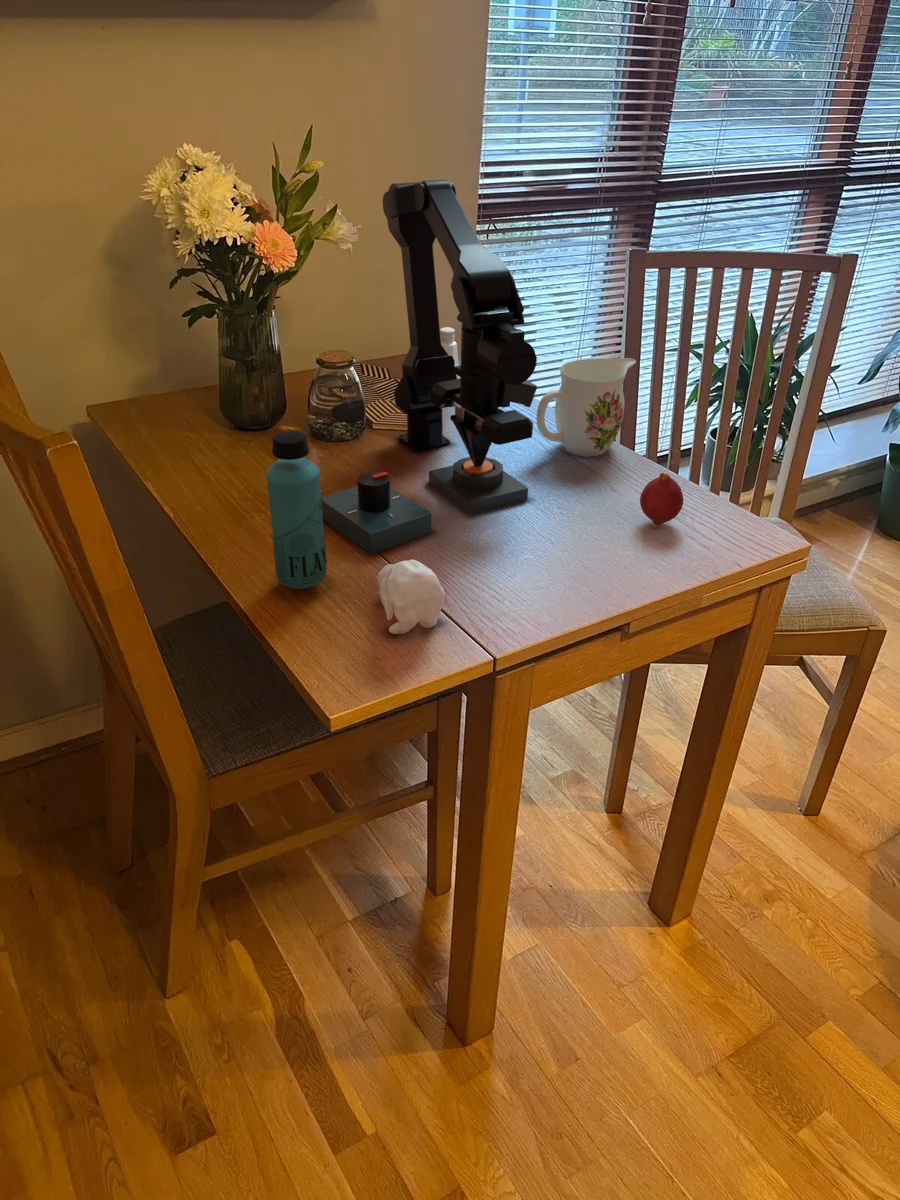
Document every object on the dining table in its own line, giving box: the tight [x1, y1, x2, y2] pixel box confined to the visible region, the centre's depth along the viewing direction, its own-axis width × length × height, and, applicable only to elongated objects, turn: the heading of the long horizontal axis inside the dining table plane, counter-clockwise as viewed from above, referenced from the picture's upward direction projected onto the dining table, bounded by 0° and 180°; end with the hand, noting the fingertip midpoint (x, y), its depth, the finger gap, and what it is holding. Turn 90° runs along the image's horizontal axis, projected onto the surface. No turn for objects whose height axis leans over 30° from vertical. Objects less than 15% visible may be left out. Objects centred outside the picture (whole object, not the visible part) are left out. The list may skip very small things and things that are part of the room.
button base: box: [428, 456, 529, 516], centre depth 136 cm, size 12×10×4 cm
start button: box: [463, 460, 493, 474], centre depth 136 cm, size 4×4×2 cm
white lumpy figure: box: [374, 559, 445, 635], centre depth 107 cm, size 6×8×12 cm
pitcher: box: [536, 357, 637, 457], centre depth 147 cm, size 11×18×14 cm, turn 119°
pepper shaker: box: [440, 326, 460, 379], centre depth 171 cm, size 5×5×11 cm
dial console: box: [321, 485, 433, 555], centre depth 128 cm, size 13×10×3 cm
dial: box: [356, 471, 391, 512], centre depth 126 cm, size 4×4×4 cm
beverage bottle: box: [265, 430, 329, 589], centre depth 109 cm, size 6×7×20 cm
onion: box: [639, 471, 684, 526], centre depth 127 cm, size 6×6×8 cm
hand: (478, 465), depth 135 cm, fingers closed, pressing on start button
